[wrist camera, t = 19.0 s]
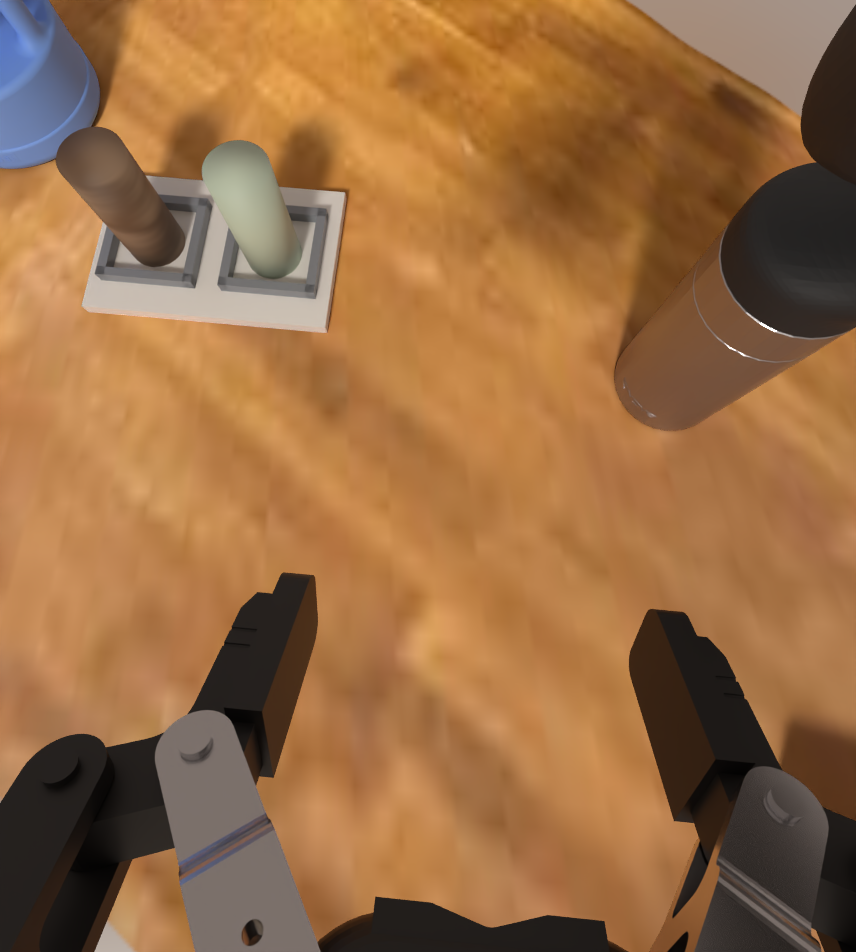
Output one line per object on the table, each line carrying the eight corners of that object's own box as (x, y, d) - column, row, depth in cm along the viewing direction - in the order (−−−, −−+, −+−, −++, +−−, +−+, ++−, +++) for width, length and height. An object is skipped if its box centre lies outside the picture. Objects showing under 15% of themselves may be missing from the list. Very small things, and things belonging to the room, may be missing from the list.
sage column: (284, 221, 49) (249, 129, 39) (311, 261, 48) (282, 177, 38) (237, 247, 48) (189, 160, 39) (264, 288, 47) (222, 210, 38)
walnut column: (169, 209, 49) (105, 115, 39) (195, 249, 48) (136, 162, 39) (121, 236, 49) (44, 147, 39) (146, 276, 48) (74, 196, 38)
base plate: (346, 200, 51) (343, 184, 49) (327, 333, 48) (322, 322, 46) (121, 181, 51) (109, 164, 49) (88, 311, 48) (74, 300, 46)
